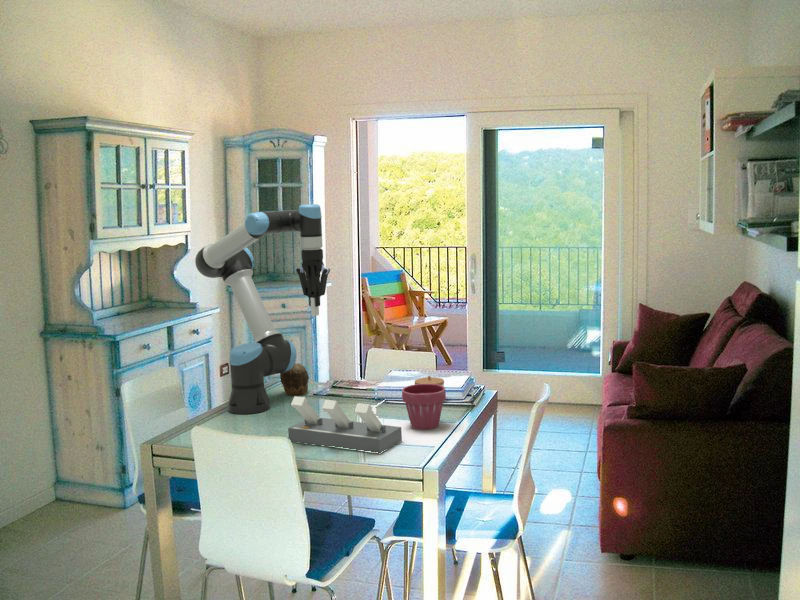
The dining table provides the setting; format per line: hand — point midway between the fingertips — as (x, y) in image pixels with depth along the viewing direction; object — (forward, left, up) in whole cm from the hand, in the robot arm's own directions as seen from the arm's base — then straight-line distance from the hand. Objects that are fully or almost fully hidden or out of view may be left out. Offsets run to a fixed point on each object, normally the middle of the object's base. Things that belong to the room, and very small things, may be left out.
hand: (315, 315), depth 305 cm
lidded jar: (+40, +6, -35) cm, 53 cm away
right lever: (+20, -45, -29) cm, 57 cm away
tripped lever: (0, -33, -29) cm, 44 cm away
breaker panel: (+10, -39, -34) cm, 53 cm away
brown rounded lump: (-11, +26, -35) cm, 45 cm away
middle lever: (+10, -39, -29) cm, 49 cm away
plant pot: (+36, -26, -35) cm, 56 cm away
